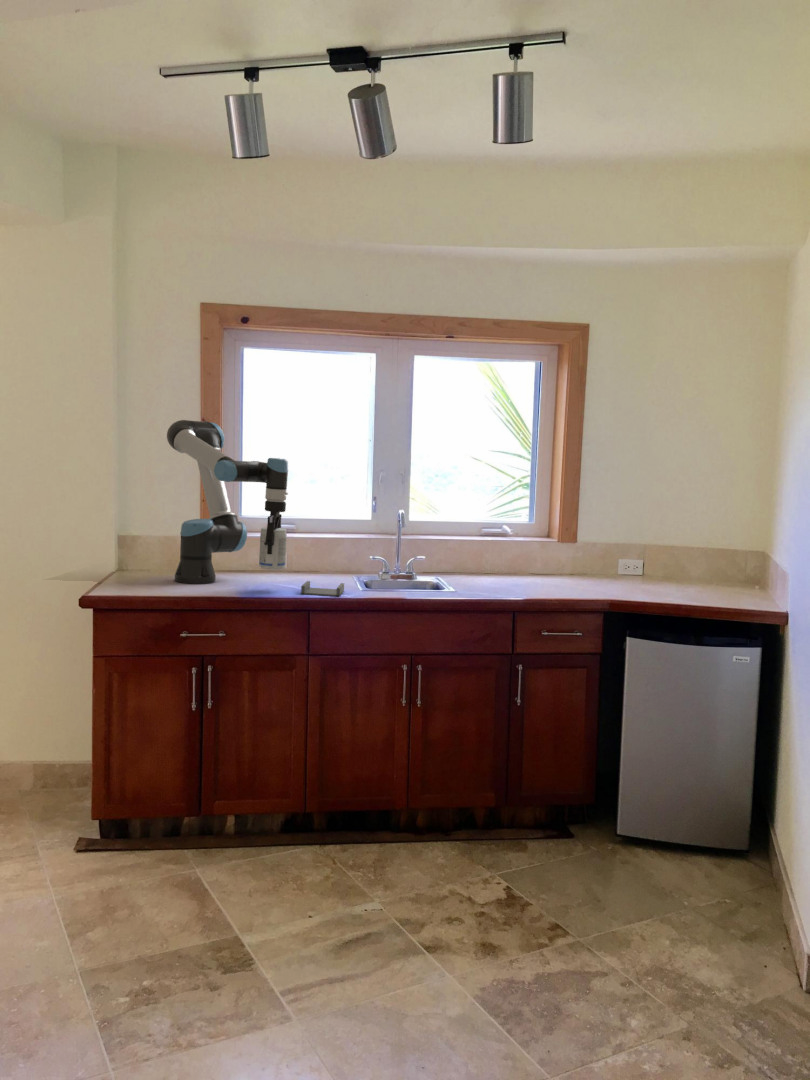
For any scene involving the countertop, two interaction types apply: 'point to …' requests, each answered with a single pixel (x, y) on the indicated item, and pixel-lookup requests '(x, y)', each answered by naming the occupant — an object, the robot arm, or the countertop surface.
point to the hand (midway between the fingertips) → (272, 561)
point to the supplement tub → (278, 550)
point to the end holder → (321, 590)
